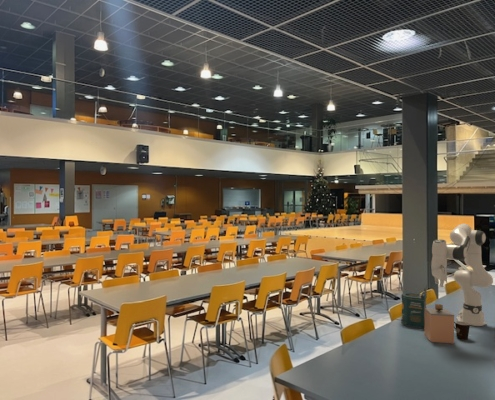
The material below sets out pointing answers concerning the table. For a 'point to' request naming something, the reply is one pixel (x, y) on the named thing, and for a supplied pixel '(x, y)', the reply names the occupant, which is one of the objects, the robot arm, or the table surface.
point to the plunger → (438, 307)
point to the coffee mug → (462, 330)
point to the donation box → (414, 309)
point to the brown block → (439, 325)
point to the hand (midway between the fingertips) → (439, 285)
